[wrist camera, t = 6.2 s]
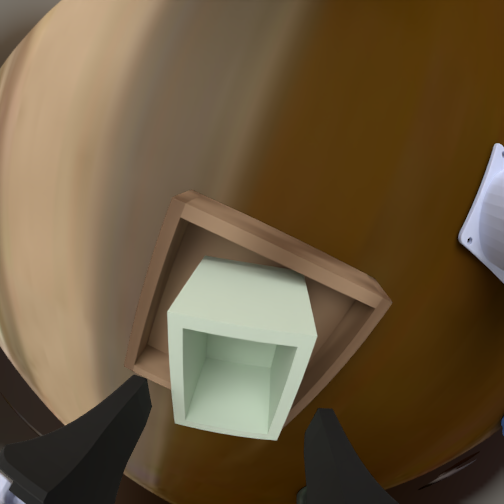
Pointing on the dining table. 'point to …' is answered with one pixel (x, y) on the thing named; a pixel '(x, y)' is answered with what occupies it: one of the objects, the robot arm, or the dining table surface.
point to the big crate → (258, 252)
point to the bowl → (502, 424)
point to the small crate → (239, 347)
